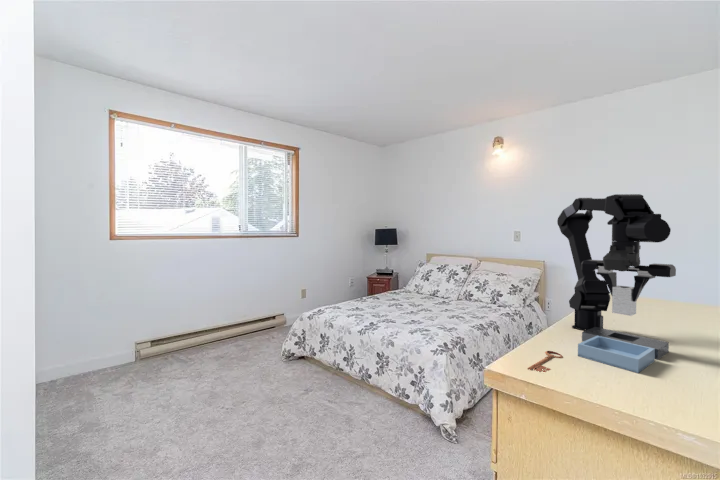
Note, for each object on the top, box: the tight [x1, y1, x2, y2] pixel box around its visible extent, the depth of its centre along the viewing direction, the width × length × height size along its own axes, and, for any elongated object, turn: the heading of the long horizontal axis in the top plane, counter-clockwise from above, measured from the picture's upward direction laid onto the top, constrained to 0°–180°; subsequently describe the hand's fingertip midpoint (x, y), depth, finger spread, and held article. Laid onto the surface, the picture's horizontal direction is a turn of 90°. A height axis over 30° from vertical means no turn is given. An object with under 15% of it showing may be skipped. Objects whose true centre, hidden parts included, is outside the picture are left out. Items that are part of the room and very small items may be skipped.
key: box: [526, 350, 564, 373], centre depth 75 cm, size 6×1×15 cm
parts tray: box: [577, 336, 656, 374], centre depth 77 cm, size 12×12×3 cm
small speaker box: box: [611, 284, 637, 317], centre depth 85 cm, size 4×4×7 cm
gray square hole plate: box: [581, 327, 670, 361], centre depth 85 cm, size 16×9×2 cm, turn 34°
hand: (624, 299), depth 85 cm, fingers closed on small speaker box, 4 cm apart
